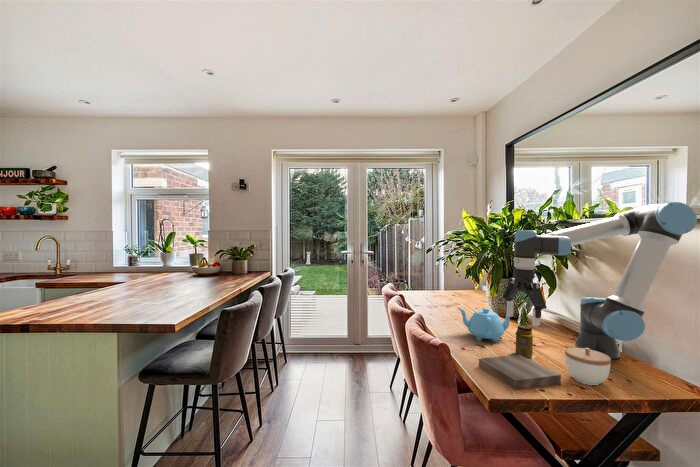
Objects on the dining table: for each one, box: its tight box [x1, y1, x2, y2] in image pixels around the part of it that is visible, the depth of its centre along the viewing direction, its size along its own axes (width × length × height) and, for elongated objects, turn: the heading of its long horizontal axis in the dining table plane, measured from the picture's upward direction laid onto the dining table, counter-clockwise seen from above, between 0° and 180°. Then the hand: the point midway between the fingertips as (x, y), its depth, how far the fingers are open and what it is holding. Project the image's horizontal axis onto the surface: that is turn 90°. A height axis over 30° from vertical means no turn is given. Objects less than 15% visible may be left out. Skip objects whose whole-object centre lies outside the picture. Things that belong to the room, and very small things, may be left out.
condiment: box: [508, 324, 537, 361], centre depth 131 cm, size 7×8×12 cm
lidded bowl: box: [564, 347, 612, 386], centre depth 110 cm, size 13×13×11 cm
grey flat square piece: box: [478, 355, 562, 391], centre depth 114 cm, size 18×18×3 cm
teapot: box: [457, 307, 515, 343], centre depth 153 cm, size 16×20×14 cm
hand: (522, 321), depth 131 cm, fingers open, 13 cm apart
